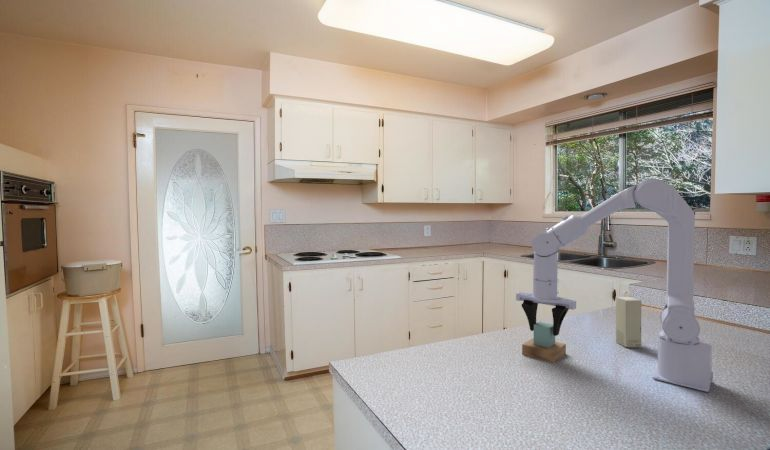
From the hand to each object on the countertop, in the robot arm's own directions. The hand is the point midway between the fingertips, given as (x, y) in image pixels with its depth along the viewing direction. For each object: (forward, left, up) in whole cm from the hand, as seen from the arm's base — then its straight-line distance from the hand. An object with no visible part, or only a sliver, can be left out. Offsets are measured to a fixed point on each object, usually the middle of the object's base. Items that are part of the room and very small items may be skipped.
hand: (544, 332), depth 99 cm
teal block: (0, 0, -3) cm, 3 cm away
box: (-14, -23, -6) cm, 28 cm away
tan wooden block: (0, 0, -6) cm, 6 cm away
